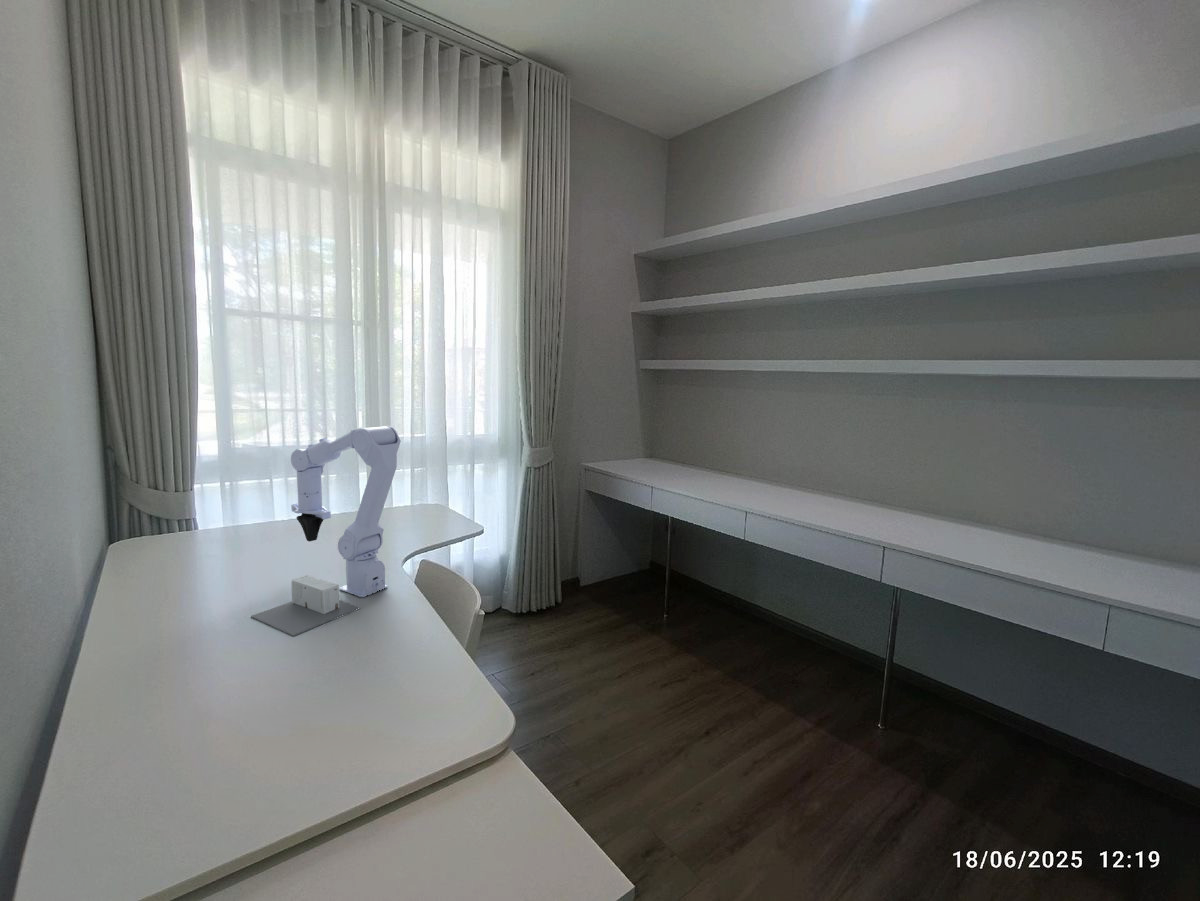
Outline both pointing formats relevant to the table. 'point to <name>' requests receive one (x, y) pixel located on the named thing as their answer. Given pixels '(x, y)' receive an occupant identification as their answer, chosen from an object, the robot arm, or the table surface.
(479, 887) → the table surface
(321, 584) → the skincare box
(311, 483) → the robot arm
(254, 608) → the table surface
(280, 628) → the mat
